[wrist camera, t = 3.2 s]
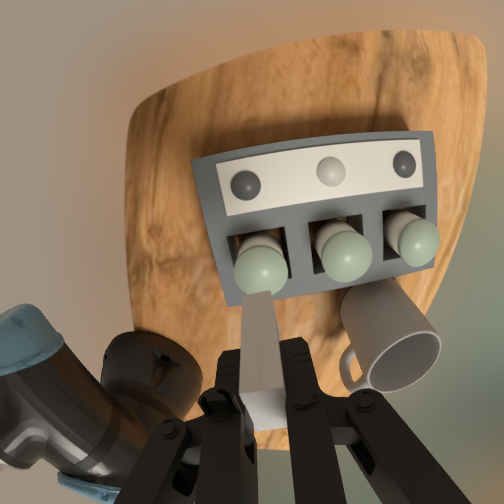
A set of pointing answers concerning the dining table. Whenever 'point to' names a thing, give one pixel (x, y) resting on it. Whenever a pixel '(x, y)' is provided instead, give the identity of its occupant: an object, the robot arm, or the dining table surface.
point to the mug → (386, 338)
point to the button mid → (342, 251)
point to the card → (319, 174)
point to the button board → (314, 217)
